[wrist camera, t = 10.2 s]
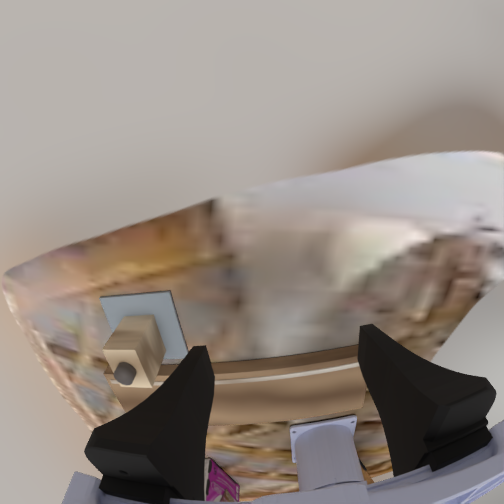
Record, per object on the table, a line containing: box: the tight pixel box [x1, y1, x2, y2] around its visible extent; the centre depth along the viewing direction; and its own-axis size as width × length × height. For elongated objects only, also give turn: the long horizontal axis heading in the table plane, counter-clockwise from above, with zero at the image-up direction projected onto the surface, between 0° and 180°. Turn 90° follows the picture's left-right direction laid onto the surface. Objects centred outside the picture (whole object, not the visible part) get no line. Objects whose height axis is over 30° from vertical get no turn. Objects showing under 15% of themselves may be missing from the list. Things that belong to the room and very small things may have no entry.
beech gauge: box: [102, 315, 166, 388], centre depth 22 cm, size 4×3×6 cm
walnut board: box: [104, 345, 367, 426], centre depth 26 cm, size 8×26×2 cm, turn 98°
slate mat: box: [99, 291, 189, 359], centre depth 25 cm, size 7×7×1 cm
